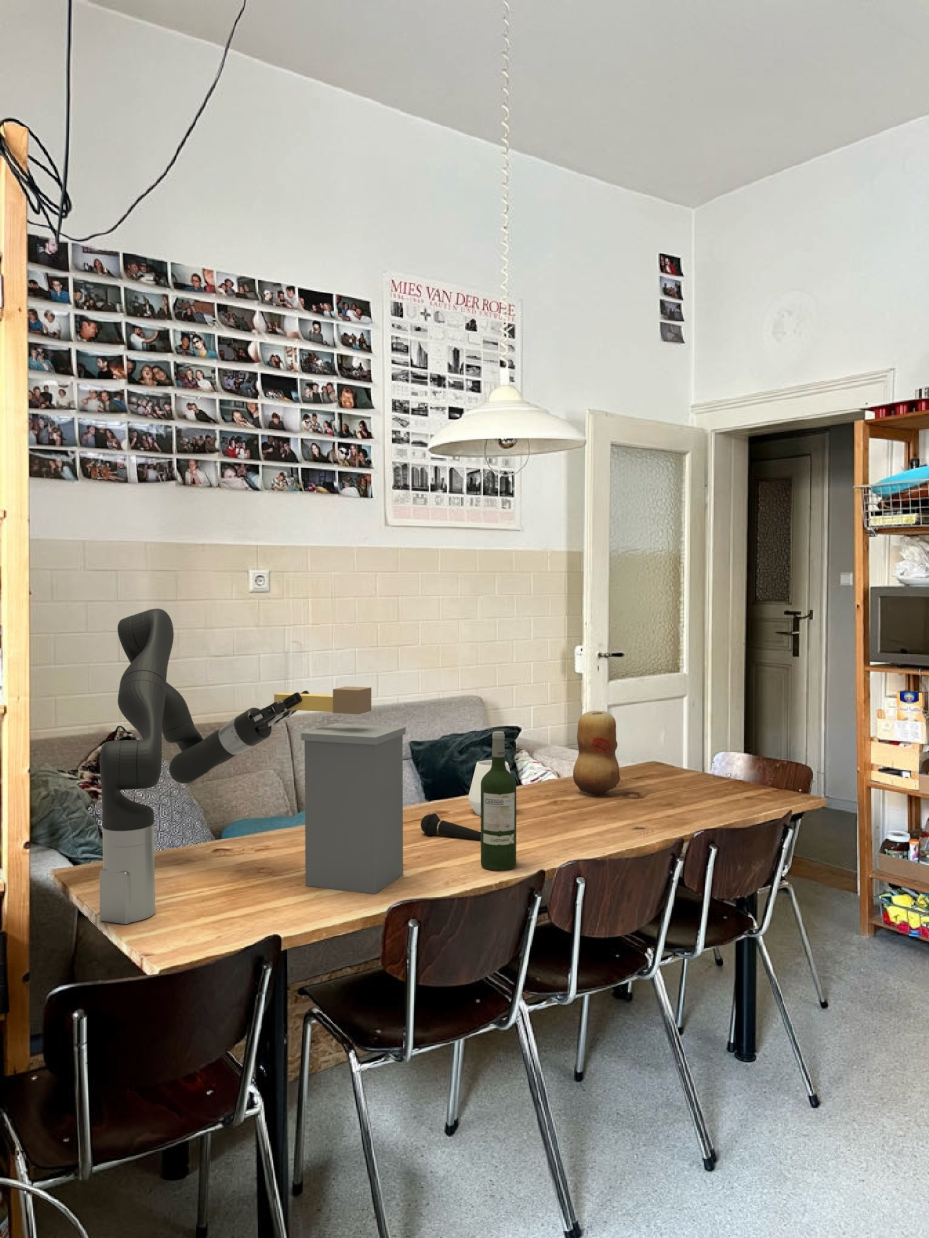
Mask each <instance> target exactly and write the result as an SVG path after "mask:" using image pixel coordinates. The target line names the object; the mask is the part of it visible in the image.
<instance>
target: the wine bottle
mask: <svg viewBox="0 0 929 1238" xmlns="http://www.w3.org/2000/svg"><path fill="white" fill-rule="evenodd" d="M505 736H506V735H505V732H504V731H501V730H499V731H497V730H495V731H493V732H492V737H491V738H492V745H491V746H492V748H491V750H492V751H491V753H492V754H491V760H492V766H491V769H490V770H489V771H488V772H487V773H486V774H485V776H484V777H483V778H482V780H481V816H480V832H481V841H480V865H481V867H482V869H485V870H488V871H493V872H505V871H506V872H507V871H510V870H513V869H515V868H516V865H517V781H516V779H515V777H514V775H513V774H512V773H511V771H510V772H509V771H507V769H506V766H505V762H506V751H505V746H506V745H505Z"/></svg>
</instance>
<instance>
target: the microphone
mask: <svg viewBox="0 0 929 1238" xmlns="http://www.w3.org/2000/svg"><path fill="white" fill-rule="evenodd" d="M420 828H421V831H422V832H423V833H424V834H426V835H427V836H429V837H431V835H432V836H434V835H436V834H439V835H442V836H443V835H444V836H447V837H449V838H454V839H455V838H459V839H465V840H469V839H470V840H469V841H476V842H477V841H479V842H481V831H479V830H476V829H472V828H471V827H466V826H463V825H460V824H456V823H453V822H450V821H447V820H441V818H440V817H439V816H438V814H437V813H434V812H433V813H431V814H426V815H424V816H423V817H422V818H421V821H420Z"/></svg>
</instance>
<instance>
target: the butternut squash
mask: <svg viewBox="0 0 929 1238" xmlns="http://www.w3.org/2000/svg"><path fill="white" fill-rule="evenodd" d="M576 741H577V747H578V755H577V759H576V761H575V763H574V766H573V768H572V769H573V770H572V779H573V782H574V784H575V786H576V787H578V790H580V791H581V792H584V793H585V792H586V793H587V794H590V795H595V796H597V795H598V796H599V795H600V796H603V795H604V794H606V793H608V792H609V791H612V790H613V789H615V788H616V787H617V786H618V784H619V782H620V781H621V777H620V765H619V762H618V760H617V756H616V750H617V748H618V740H617V722H616V719H615V717H614V716H613V715H612V714H611V713H609V712H608V711H605V710H591V711H588V712H584V713H583V714H582V715H581V716H580V717H579V719H578V723H577V733H576Z"/></svg>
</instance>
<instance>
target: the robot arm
mask: <svg viewBox="0 0 929 1238" xmlns="http://www.w3.org/2000/svg"><path fill="white" fill-rule="evenodd" d="M174 632H175V631H174V625H173V622H172V619H171V617H170V615H169V613H168V612H167V611H166V610H164V609H161V608H150V609H147V610H144V611H141V612H138V613H135V614H133V615H128V616H127V617H124V618H122V619H120V620H119V621H118V623H117V635H118V639H119V642H120V644H121V647H122V649H123V651H124V654H125V655H126V657H127V659H128V661H129V663H130V664H128V667H127V668H126V669H125V670H124V672H123V674H122V676H121V678H120V682H119V689H118V693H117V694H118V695H117V705H118V708H119V710H120V712H121V714H122V715H123V717H124V718H125V719H126V720H127V721H128V722H129V724H130V725H131V726H132V727H133V728H134V729H136V731H137V732H138V733H139V734H140V736H141V738H142V739H130V740H128V739H127V740H110V741H106V742H104V743H103V745H102V746H101V747H102V748H101V749H100V754H99V775H100V787H101V788H100V789H101V807H102V808H101V809H102V811H101V813H102V817H101V818H102V820H101V821H102V822H101V823H102V825H101V826H102V869H99V874H98V875H99V877H98V878H99V916H100V917H99V920H100V921H102V922H107V923H115V924H121V925H122V924H123V925H128V924H130V923H134V922H139V921H143V920H146V919H149V918H150V917H153V915H155V913H156V882H155V881H156V880H155V879H156V878H155V877H156V876H155V875H156V874H155V872H156V871H155V812H154V809H153V808H152V807H151V806H149V805H146V804H143V803H139V802H136V801H134V800H131V799H129V798H128V797H126V796H125V795H124V794H123V793H122V791H125V790H126V791H127V790H146V789H150V788H154V787H155V786H156V785H157V784H158V783H159V781H160V778H161V774H162V764H163V762H162V760H163V759H162V758H163V757H162V756H163V755H162V754H163V752H162V750H163V749H162V748H163V747H162V746H163V744H162V743H163V742H162V741H163V737H164V740H165V741H166V742H167V743H169V744H177V746H178V748H179V750H180V751H181V752H179V753H177V754H176V755H174V757H173V758H172V759H171V760H170V763H169V765H168V771H169V775H170V777H171V779H172V780H173V781H175V782H177V783H179V784H190V783H193V782H195V781H196V780H197V779H199V778H201V777H203V776H205V775H206V774H207V773H209V771H211V770H212V769H214V768H215V767H217V766H219V765H221V764H223V763H226V762H227V761H229V760H231V759H232V758H234V757H236V756H237V755H239V754H241V753H244V752H246V751H248V750H250V749H251V748H253V747H255V746H257V745H258V744H260V743H262V742H263V741H265V740H266V739H268V738H269V737H270V736H271V735H272V725H274V726H275V725H278V724H279V723H281V722H282V720H284V719H288V718H290V717H291V716H292V715H294V714H295V713H296V712H298V711H299V710H288V709H290V708H292V707H293V706H295V705H297V704H298V703H300V702H301V701H302V698H301V696H300V694H310V692H309V690H303V691H302V692H293V693H294V694H293V695H291V696H289V697H288V698H286V699H284V700H280V701H279V702H278V703H277V702H274V701H273V703H271V704H269V705H267V706H265V707H263V708H262V709H261V708H258V707H250V708H249V709H248V710H246V711H244V712H242V713H240V714H239V715H237V716H235V717H234V718H233V719H230V720H229V721H228V722H226V723H225V724H224V725H223V726H222V727H220V728H218V729H217V730H215V731H213V732H212V733H211V734H209V735H207V737H205V738H203V737H202V734H201V733H200V732H199V731H198V729H197V728H196V726H195V723H194V721H193V718H192V717H193V716H191V715H192V714H191V712H190V710H189V706H188V704H187V701H186V700H185V699H184V697H183V695H182V694H181V693H180V692H179V691H178V690H177V689H176V688H175V687H173V686H172V685H171V684H169V682H167V678H168V677H167V675H168V666H169V661H170V657H171V656H170V655H171V652H172V649H173V644H174V639H175V637H174V636H175V635H174V634H175V633H174ZM162 734H163V735H162Z"/></svg>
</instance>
